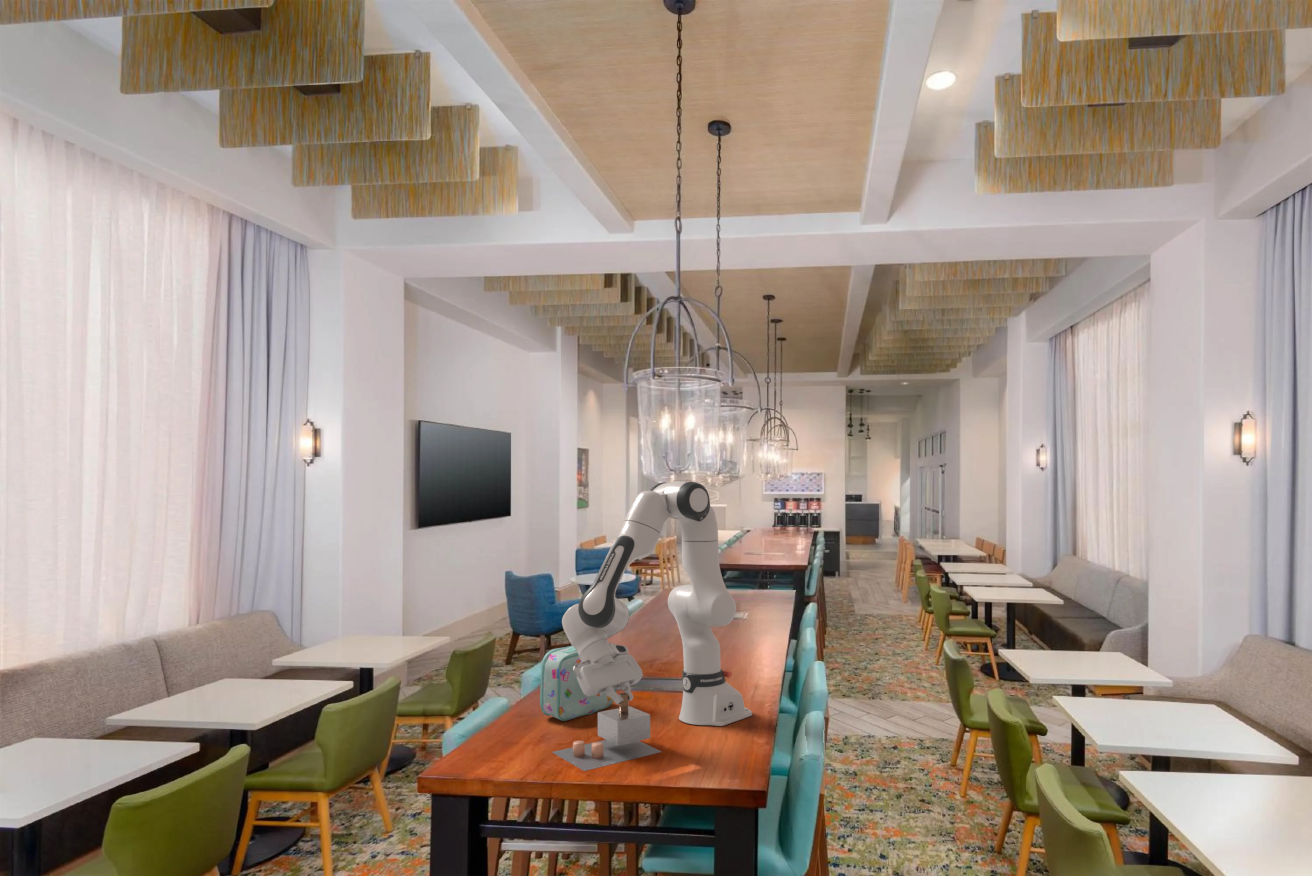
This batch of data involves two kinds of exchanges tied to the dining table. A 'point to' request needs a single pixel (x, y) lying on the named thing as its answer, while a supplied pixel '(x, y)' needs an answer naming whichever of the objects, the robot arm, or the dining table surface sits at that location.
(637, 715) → the steel cover
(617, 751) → the tray
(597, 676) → the robot arm
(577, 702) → the lunch box
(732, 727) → the dining table surface
